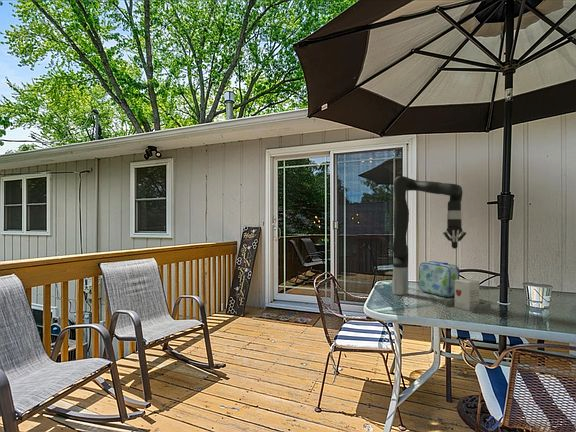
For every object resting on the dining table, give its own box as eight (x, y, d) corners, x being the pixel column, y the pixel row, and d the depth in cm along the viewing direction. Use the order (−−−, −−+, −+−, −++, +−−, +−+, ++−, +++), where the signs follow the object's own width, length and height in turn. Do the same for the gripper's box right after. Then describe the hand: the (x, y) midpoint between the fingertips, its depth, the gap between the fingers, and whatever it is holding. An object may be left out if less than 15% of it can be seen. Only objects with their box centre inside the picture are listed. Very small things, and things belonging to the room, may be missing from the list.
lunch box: (462, 297, 211) (462, 263, 211) (450, 299, 206) (450, 264, 206) (428, 289, 234) (428, 258, 235) (417, 291, 230) (416, 259, 230)
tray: (473, 313, 177) (473, 307, 177) (444, 306, 191) (444, 300, 191) (490, 308, 185) (490, 303, 185) (462, 302, 199) (462, 297, 199)
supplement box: (453, 307, 189) (453, 279, 189) (464, 305, 193) (464, 278, 193) (469, 310, 181) (469, 282, 181) (480, 308, 185) (479, 280, 185)
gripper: (463, 218, 204) (463, 247, 204) (440, 218, 205) (440, 247, 205) (469, 218, 196) (469, 249, 196) (445, 218, 197) (445, 248, 197)
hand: (454, 248), depth 200 cm, fingers closed
